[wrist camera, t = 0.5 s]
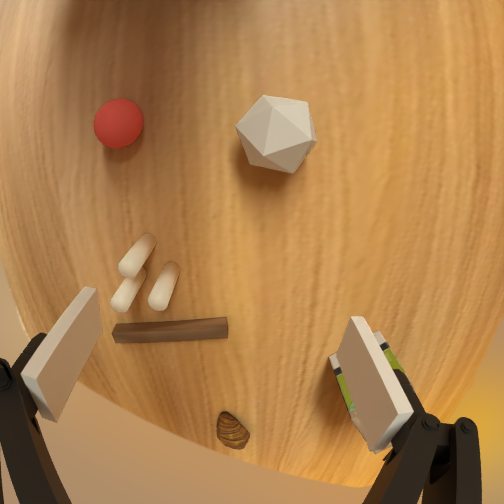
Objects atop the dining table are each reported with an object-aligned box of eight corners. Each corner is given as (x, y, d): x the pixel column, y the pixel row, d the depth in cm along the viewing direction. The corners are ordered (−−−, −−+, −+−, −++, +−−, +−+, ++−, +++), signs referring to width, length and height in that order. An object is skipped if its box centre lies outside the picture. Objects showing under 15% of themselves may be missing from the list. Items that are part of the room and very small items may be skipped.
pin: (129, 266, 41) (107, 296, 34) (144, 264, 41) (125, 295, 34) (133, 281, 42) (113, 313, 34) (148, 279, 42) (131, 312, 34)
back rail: (116, 323, 45) (111, 333, 43) (226, 316, 45) (226, 326, 43) (120, 333, 46) (115, 343, 44) (228, 327, 46) (227, 337, 43)
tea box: (397, 375, 53) (425, 430, 39) (352, 398, 54) (373, 456, 41) (379, 327, 47) (415, 388, 34) (326, 354, 49) (349, 422, 35)
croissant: (256, 440, 59) (257, 458, 54) (226, 444, 59) (226, 462, 55) (241, 406, 54) (241, 426, 49) (207, 411, 54) (206, 430, 50)
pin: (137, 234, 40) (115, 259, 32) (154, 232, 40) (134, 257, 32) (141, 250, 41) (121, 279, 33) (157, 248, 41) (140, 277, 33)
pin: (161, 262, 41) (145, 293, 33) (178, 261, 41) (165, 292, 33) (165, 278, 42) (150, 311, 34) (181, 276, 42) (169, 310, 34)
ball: (103, 106, 33) (82, 104, 27) (146, 95, 33) (130, 90, 27) (109, 150, 35) (89, 155, 30) (152, 141, 35) (136, 144, 30)
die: (249, 175, 38) (306, 196, 32) (207, 129, 32) (266, 139, 25) (285, 129, 39) (345, 141, 32) (251, 81, 32) (315, 81, 26)
